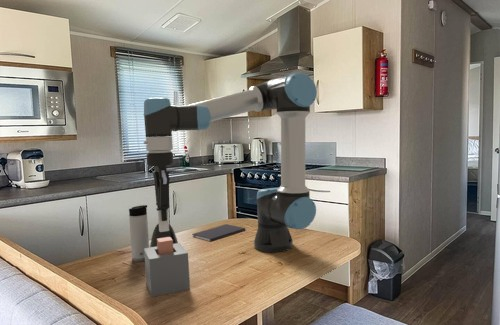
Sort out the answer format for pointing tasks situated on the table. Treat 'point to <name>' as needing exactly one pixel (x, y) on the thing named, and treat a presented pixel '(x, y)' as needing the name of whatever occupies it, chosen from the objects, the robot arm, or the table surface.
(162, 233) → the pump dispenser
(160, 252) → the peg
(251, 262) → the table surface
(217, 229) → the notebook
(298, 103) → the robot arm
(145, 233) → the travel mug
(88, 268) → the table surface
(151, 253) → the socket block
